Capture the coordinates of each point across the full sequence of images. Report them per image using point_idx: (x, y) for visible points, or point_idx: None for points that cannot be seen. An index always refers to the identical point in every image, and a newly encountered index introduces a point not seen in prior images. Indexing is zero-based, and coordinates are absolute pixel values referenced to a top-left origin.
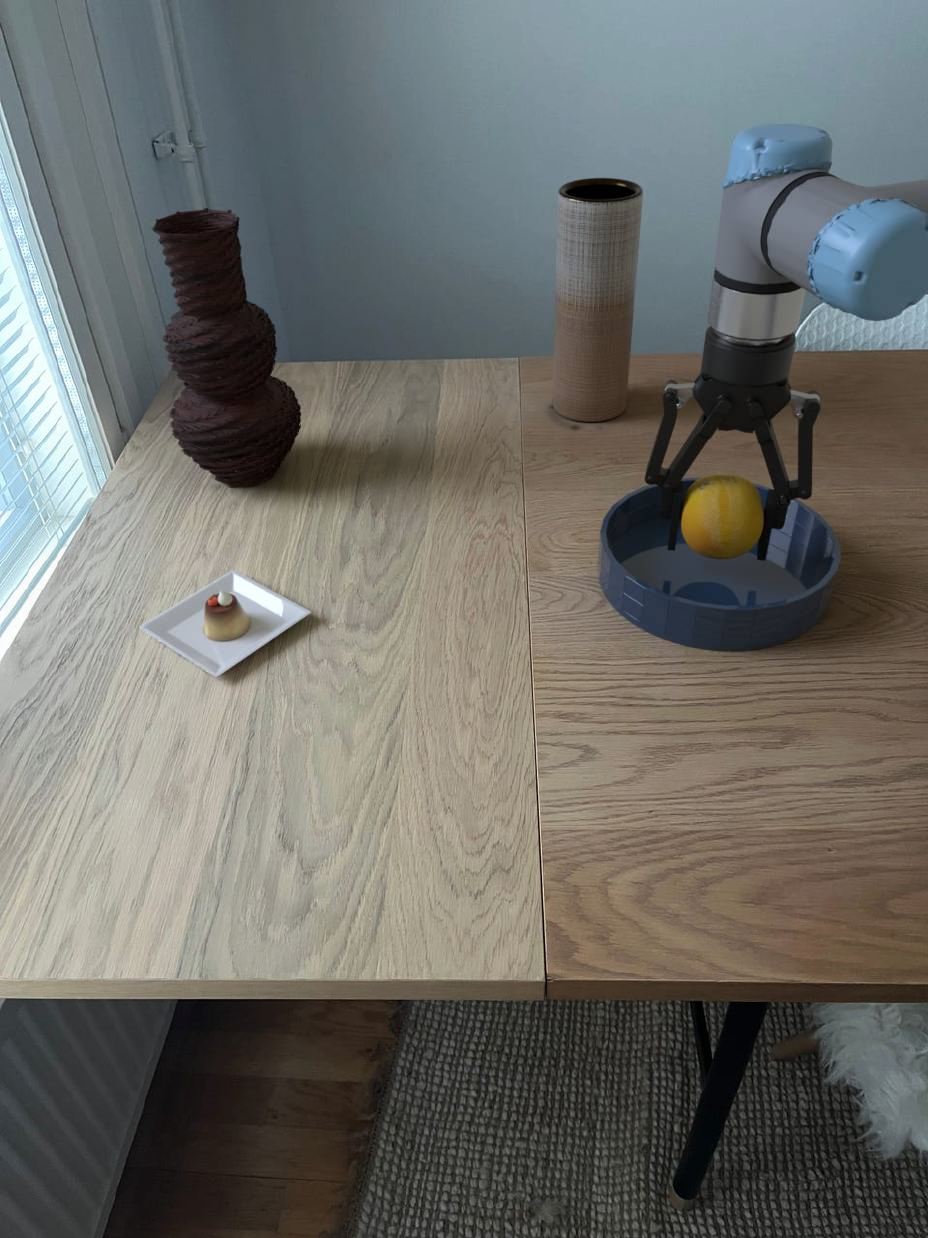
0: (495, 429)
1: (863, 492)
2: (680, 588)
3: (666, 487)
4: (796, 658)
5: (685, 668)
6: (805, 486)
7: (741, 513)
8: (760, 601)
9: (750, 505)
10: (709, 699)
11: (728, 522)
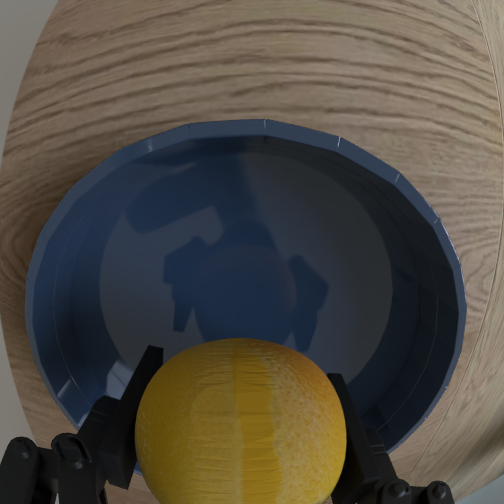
0: None
1: None
2: (310, 304)
3: (405, 487)
4: (130, 129)
5: (326, 96)
6: (15, 467)
7: (197, 439)
8: (166, 269)
9: (166, 461)
10: (293, 30)
11: (242, 412)
